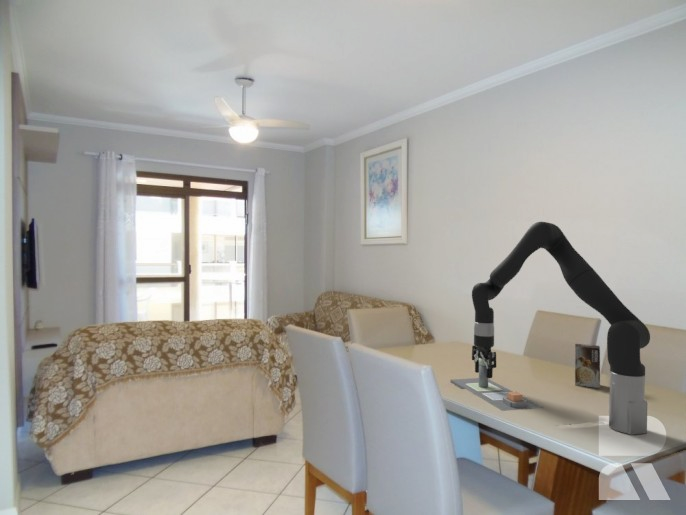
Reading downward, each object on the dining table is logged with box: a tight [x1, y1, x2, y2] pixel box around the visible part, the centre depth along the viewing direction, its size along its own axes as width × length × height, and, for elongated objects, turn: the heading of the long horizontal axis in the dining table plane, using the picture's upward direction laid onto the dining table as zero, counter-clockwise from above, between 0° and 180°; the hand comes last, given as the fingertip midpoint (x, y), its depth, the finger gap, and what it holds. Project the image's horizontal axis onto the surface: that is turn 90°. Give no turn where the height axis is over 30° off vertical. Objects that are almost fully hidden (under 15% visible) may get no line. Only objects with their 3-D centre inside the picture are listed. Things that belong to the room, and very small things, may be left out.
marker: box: [478, 358, 489, 388], centre depth 184 cm, size 4×4×11 cm
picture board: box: [450, 377, 545, 412], centre depth 177 cm, size 38×16×3 cm, turn 13°
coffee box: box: [574, 343, 601, 389], centre depth 192 cm, size 9×6×16 cm
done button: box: [507, 391, 524, 402], centre depth 164 cm, size 4×4×2 cm
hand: (483, 375), depth 184 cm, fingers open, 8 cm apart
